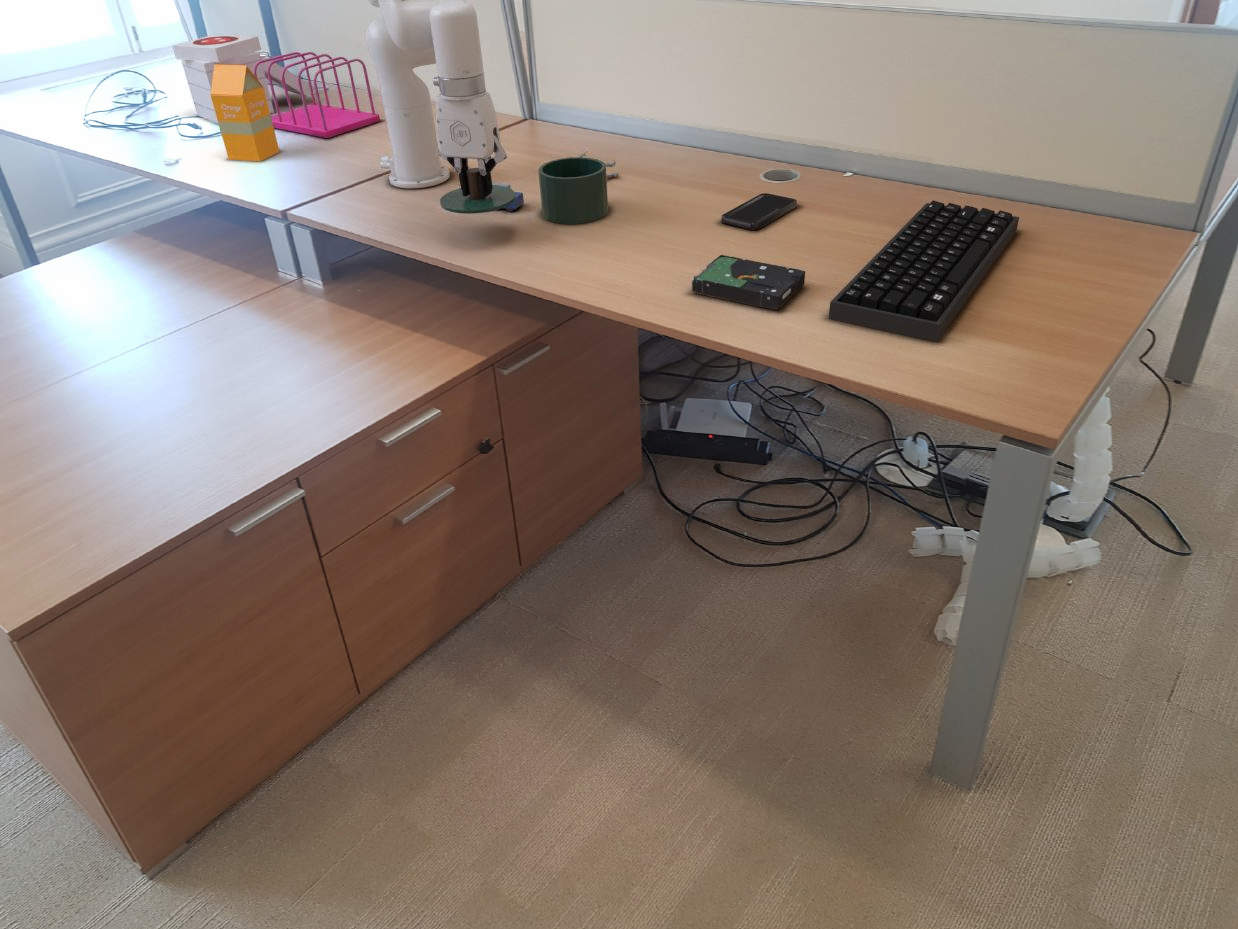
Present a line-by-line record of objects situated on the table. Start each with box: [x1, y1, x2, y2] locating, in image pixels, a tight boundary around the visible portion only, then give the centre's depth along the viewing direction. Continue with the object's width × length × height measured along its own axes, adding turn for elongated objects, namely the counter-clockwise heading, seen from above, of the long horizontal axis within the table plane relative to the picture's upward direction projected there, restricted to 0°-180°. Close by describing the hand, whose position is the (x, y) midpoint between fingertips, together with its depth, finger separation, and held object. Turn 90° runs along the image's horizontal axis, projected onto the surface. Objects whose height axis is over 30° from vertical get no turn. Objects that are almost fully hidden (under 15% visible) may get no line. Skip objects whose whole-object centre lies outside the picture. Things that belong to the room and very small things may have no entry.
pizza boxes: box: [171, 33, 315, 125], centre depth 248 cm, size 19×30×18 cm, turn 133°
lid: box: [439, 167, 516, 215], centre depth 165 cm, size 13×13×6 cm
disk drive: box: [691, 254, 806, 311], centre depth 146 cm, size 10×3×15 cm
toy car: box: [492, 182, 525, 213], centre depth 181 cm, size 8×4×4 cm, turn 69°
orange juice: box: [210, 64, 280, 163], centre depth 212 cm, size 8×9×20 cm
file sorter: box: [254, 51, 381, 139], centre depth 233 cm, size 17×25×16 cm
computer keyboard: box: [828, 199, 1020, 343], centre depth 148 cm, size 45×16×4 cm, turn 148°
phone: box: [721, 192, 798, 231], centre depth 172 cm, size 8×1×15 cm
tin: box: [538, 156, 609, 225], centre depth 175 cm, size 12×12×8 cm
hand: (477, 193), depth 166 cm, fingers closed on lid, 2 cm apart
